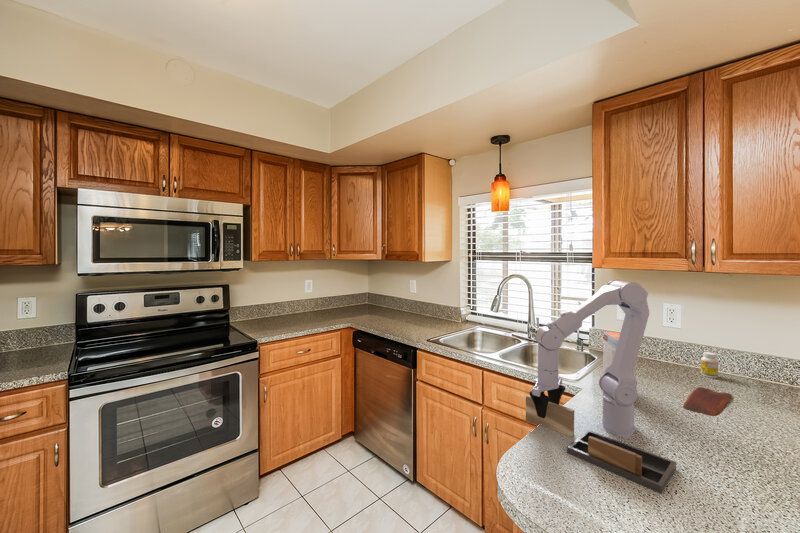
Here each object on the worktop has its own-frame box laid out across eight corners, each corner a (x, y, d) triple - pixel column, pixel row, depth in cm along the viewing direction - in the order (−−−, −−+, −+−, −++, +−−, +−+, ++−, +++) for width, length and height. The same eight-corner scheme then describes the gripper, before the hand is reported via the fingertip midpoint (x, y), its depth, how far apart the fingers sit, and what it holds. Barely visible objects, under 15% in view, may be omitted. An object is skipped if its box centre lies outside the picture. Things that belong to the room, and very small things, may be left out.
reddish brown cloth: (697, 389, 133) (697, 384, 133) (732, 397, 125) (733, 392, 125) (677, 408, 116) (677, 403, 116) (717, 419, 108) (717, 414, 108)
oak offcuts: (592, 453, 89) (593, 432, 89) (643, 474, 81) (643, 451, 80) (587, 458, 87) (587, 437, 87) (638, 480, 79) (639, 457, 78)
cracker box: (635, 398, 123) (636, 340, 122) (616, 397, 124) (617, 339, 124) (618, 383, 137) (619, 331, 136) (601, 382, 138) (602, 330, 137)
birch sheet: (528, 419, 109) (528, 394, 108) (573, 437, 98) (574, 409, 98) (525, 421, 108) (525, 395, 107) (571, 439, 97) (572, 411, 97)
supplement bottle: (719, 379, 141) (720, 355, 141) (702, 376, 144) (703, 354, 143) (715, 374, 146) (716, 352, 145) (699, 372, 148) (699, 350, 148)
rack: (587, 437, 98) (587, 429, 98) (675, 471, 83) (676, 462, 83) (566, 455, 90) (567, 446, 89) (661, 496, 74) (661, 486, 74)
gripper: (546, 359, 110) (546, 401, 111) (522, 370, 101) (522, 415, 101) (569, 365, 105) (568, 408, 105) (546, 376, 95) (545, 424, 96)
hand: (547, 412), depth 103 cm, fingers open, 7 cm apart
